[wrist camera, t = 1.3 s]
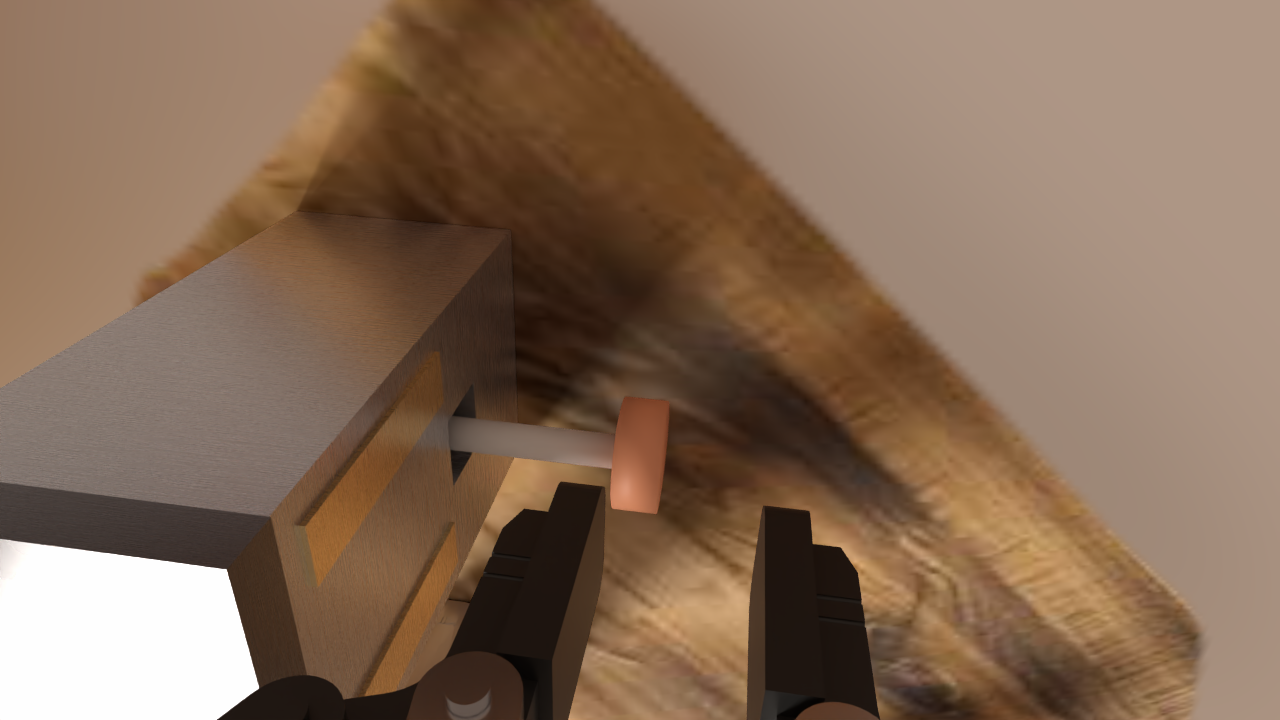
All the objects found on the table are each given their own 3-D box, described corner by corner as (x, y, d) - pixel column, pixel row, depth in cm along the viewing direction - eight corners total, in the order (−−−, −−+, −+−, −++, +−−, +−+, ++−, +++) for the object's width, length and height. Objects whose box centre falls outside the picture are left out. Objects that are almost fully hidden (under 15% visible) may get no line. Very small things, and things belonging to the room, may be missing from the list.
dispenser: (516, 224, 42) (226, 569, 19) (523, 452, 49) (317, 901, 26) (290, 205, 43) (-232, 507, 21) (328, 429, 50) (-29, 840, 28)
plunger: (671, 380, 38) (659, 441, 33) (665, 469, 40) (653, 537, 36) (388, 350, 39) (339, 405, 35) (399, 438, 42) (355, 500, 37)
